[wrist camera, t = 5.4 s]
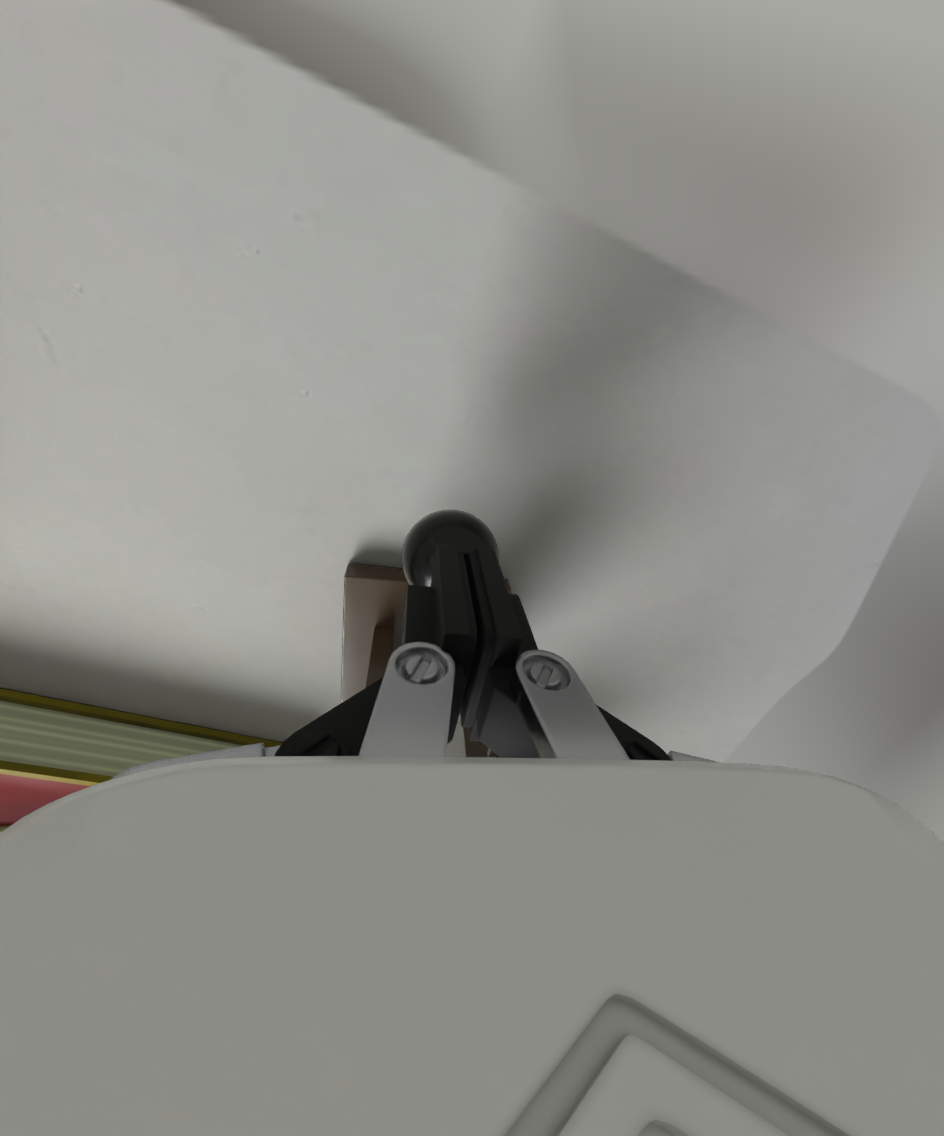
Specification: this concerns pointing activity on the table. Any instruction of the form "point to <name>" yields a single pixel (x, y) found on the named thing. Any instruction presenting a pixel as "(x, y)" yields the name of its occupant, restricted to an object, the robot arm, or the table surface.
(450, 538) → the lever with black knob
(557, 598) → the table surface
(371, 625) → the lever bracket
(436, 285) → the table surface
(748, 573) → the table surface
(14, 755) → the book
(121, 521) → the table surface
